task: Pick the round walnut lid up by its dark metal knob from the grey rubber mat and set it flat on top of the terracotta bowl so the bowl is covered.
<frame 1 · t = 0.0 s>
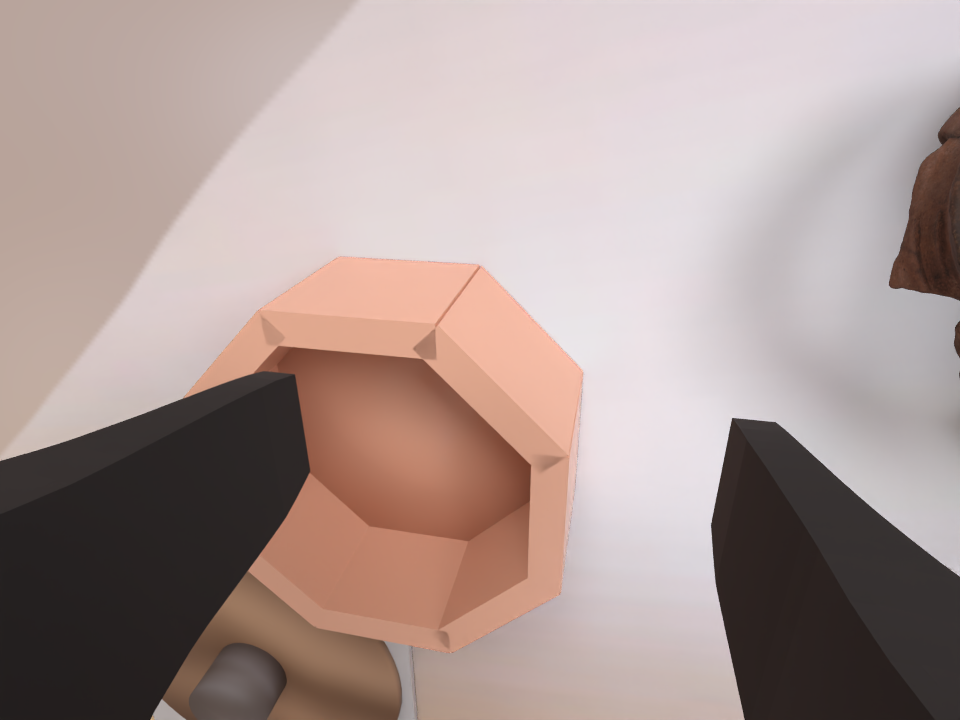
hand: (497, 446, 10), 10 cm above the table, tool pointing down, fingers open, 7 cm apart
terracotta bowl: (417, 415, 23), on the table
grey mat: (263, 652, 31), on the table
walnut lid: (259, 658, 31), resting on grey mat
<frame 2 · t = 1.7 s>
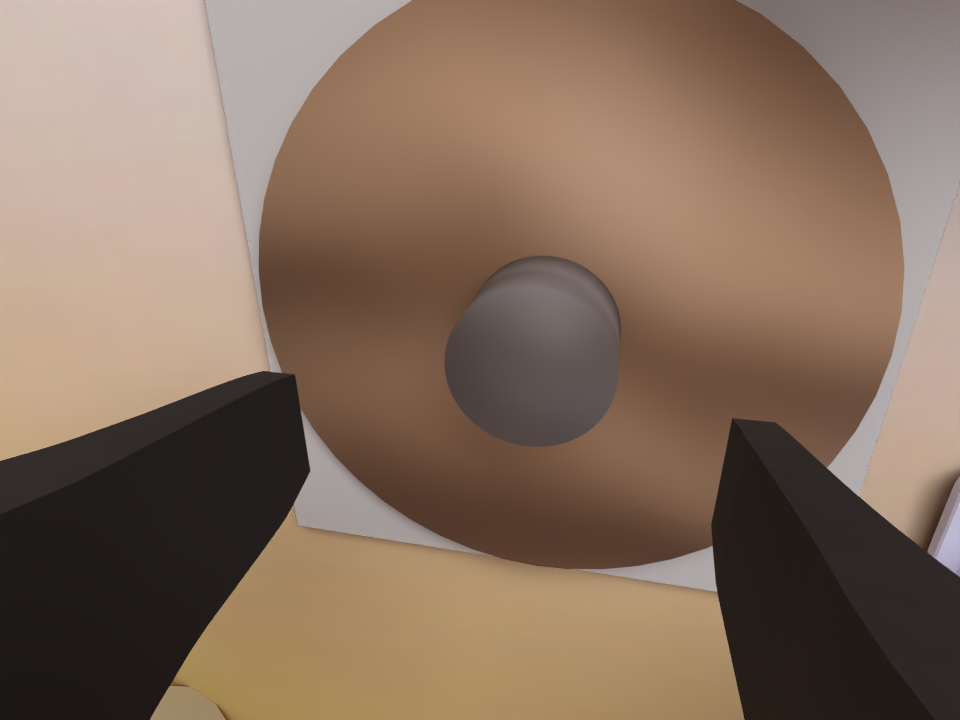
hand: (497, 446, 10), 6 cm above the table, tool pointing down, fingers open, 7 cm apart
grey mat: (549, 313, 16), on the table
walnut lid: (547, 319, 15), resting on grey mat
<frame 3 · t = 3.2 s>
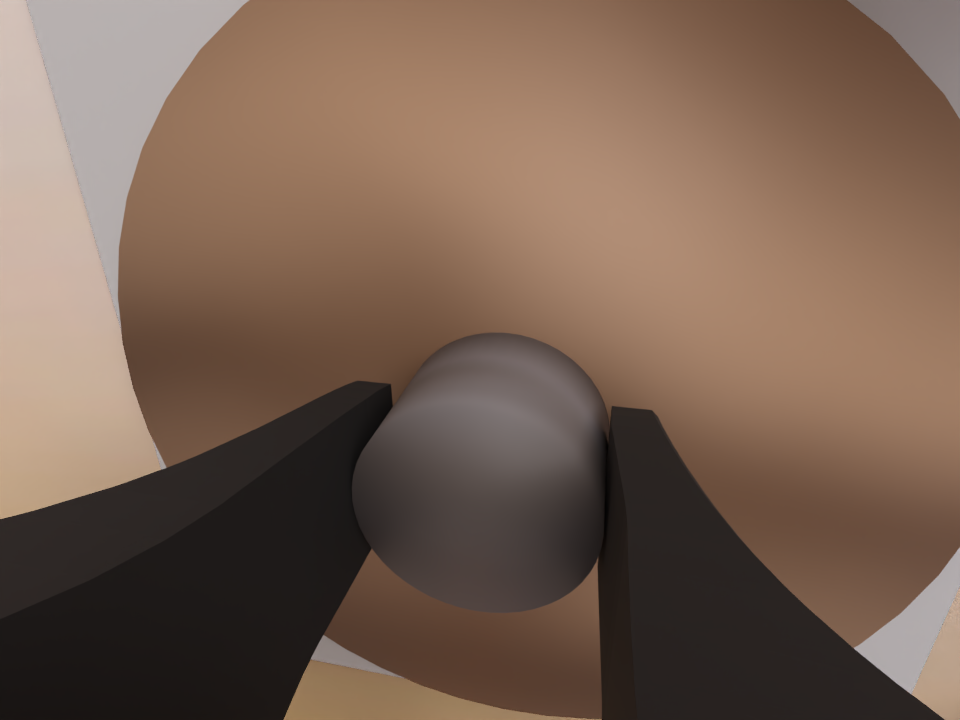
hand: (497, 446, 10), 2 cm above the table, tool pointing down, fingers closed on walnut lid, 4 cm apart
grey mat: (514, 399, 12), on the table
walnut lid: (510, 410, 11), resting on grey mat, touching gripper
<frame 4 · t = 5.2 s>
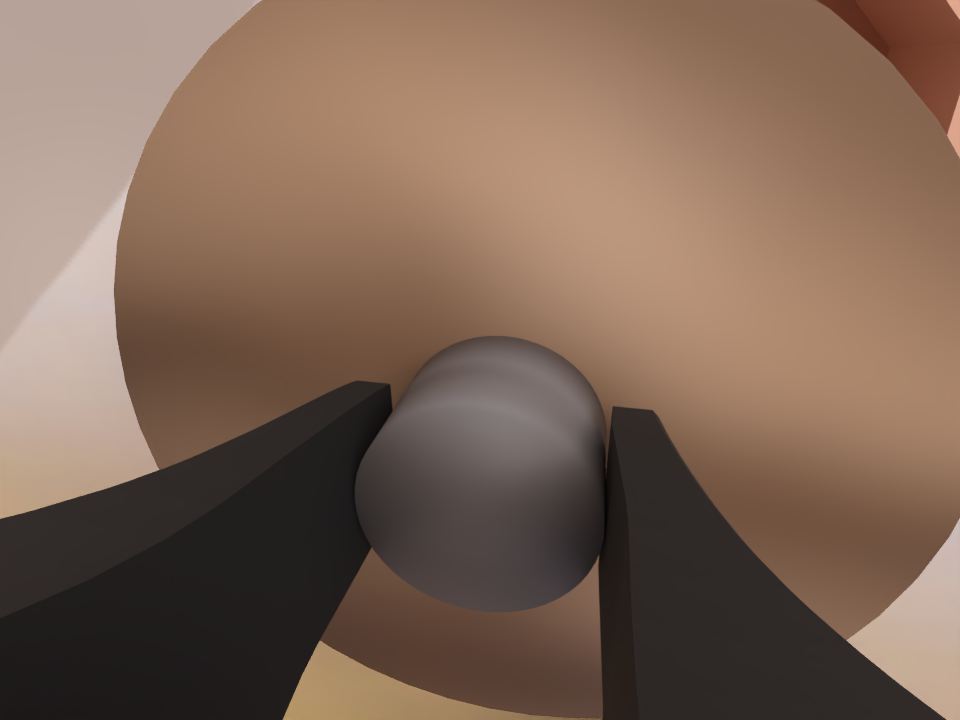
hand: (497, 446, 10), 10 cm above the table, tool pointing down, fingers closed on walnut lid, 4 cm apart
terracotta bowl: (662, 130, 17), on the table
walnut lid: (507, 412, 11), point 9 cm above the table, touching gripper
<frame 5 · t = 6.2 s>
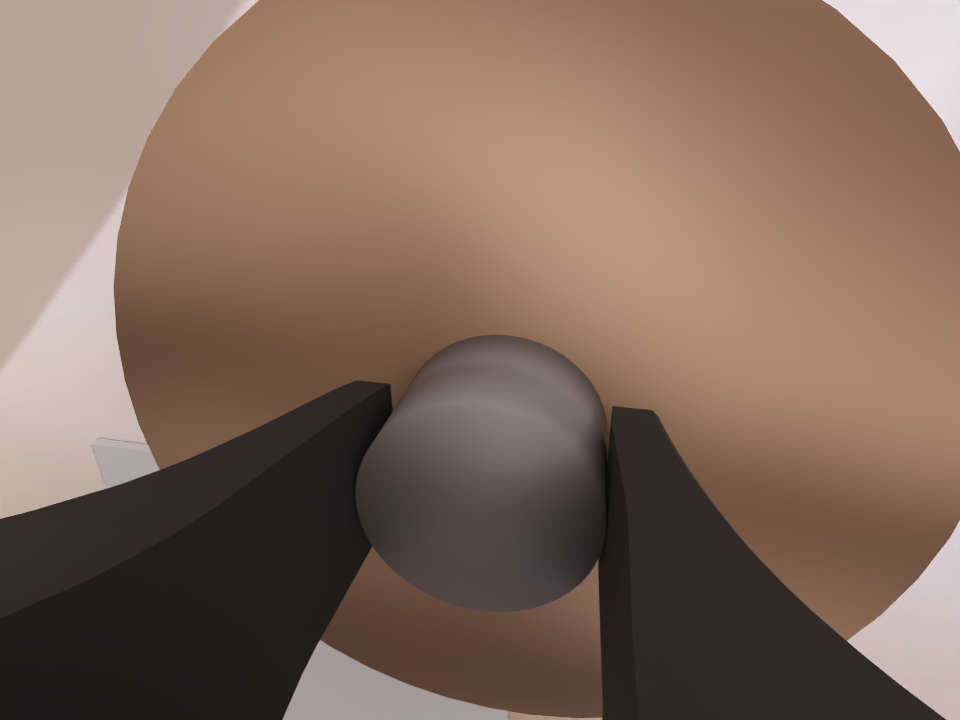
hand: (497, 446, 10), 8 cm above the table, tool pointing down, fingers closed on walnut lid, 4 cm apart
grey mat: (318, 624, 25), on the table
walnut lid: (508, 412, 11), point 6 cm above the table, touching gripper
when the fingers open (7 cm above the table, at t = 7.2 s): walnut lid stays where it is, resting on terracotta bowl.
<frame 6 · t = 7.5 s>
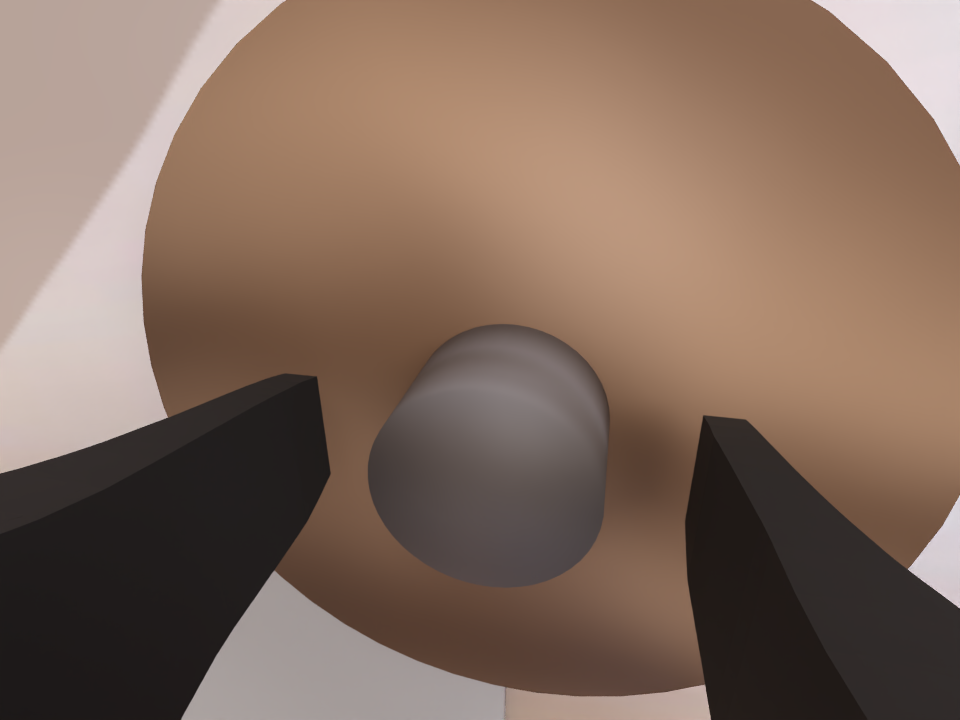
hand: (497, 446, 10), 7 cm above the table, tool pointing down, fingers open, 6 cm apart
grey mat: (308, 641, 24), on the table
walnut lid: (515, 399, 12), point 5 cm above the table, touching terracotta bowl
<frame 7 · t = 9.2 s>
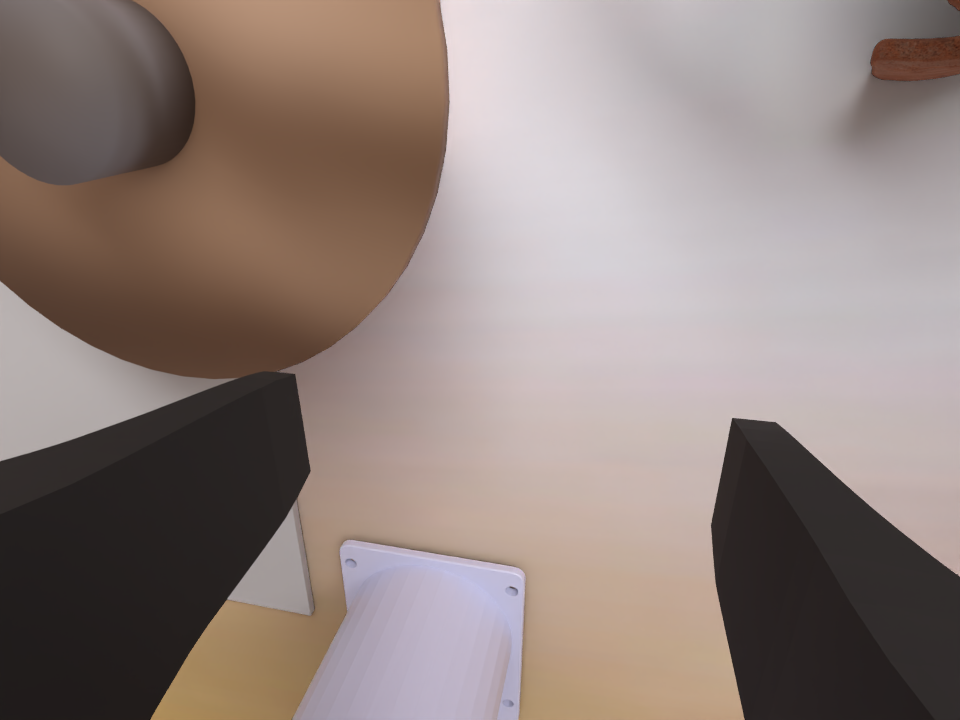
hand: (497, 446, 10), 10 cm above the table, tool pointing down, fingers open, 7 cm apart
grey mat: (126, 447, 27), on the table
walnut lid: (142, 84, 14), point 5 cm above the table, touching terracotta bowl
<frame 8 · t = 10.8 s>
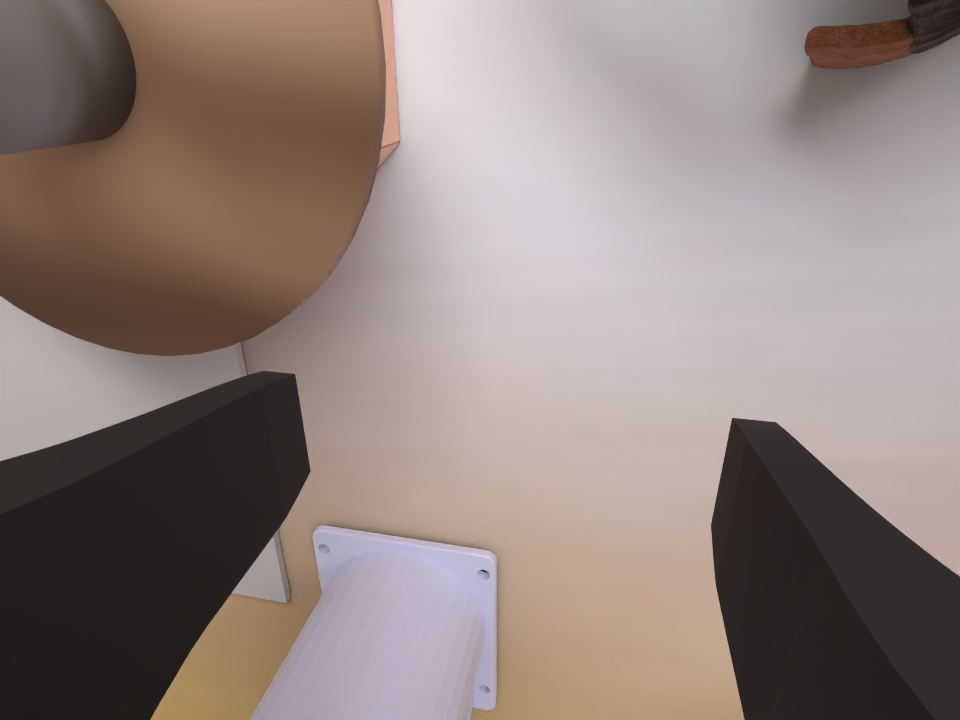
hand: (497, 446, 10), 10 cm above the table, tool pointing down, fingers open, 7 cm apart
terracotta bowl: (212, 55, 19), on the table
grey mat: (100, 435, 27), on the table
walnut lid: (85, 58, 15), point 5 cm above the table, touching terracotta bowl
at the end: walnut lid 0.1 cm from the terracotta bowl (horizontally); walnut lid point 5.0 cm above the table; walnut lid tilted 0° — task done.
